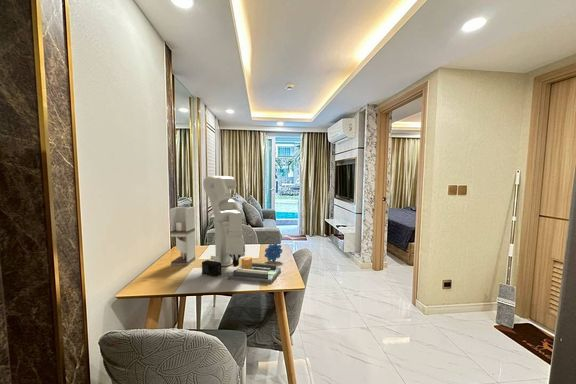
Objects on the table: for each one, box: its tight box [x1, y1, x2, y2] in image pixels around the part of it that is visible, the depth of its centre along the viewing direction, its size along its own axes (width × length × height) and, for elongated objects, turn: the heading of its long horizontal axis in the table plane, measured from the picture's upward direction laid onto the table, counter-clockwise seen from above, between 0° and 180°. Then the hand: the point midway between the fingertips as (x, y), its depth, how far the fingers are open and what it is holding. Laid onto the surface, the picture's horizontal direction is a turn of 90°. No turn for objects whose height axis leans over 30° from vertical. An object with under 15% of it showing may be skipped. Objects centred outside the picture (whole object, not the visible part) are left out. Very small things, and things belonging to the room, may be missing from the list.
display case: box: [169, 206, 196, 266], centre depth 163 cm, size 11×11×35 cm
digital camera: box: [201, 259, 222, 278], centre depth 142 cm, size 10×5×7 cm, turn 63°
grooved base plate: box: [232, 262, 277, 278], centre depth 141 cm, size 19×16×3 cm
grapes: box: [264, 242, 283, 262], centre depth 167 cm, size 12×7×12 cm, turn 94°
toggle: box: [241, 256, 254, 270], centre depth 142 cm, size 6×5×7 cm
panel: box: [227, 264, 282, 284], centre depth 141 cm, size 24×18×3 cm
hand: (235, 266), depth 144 cm, fingers closed
